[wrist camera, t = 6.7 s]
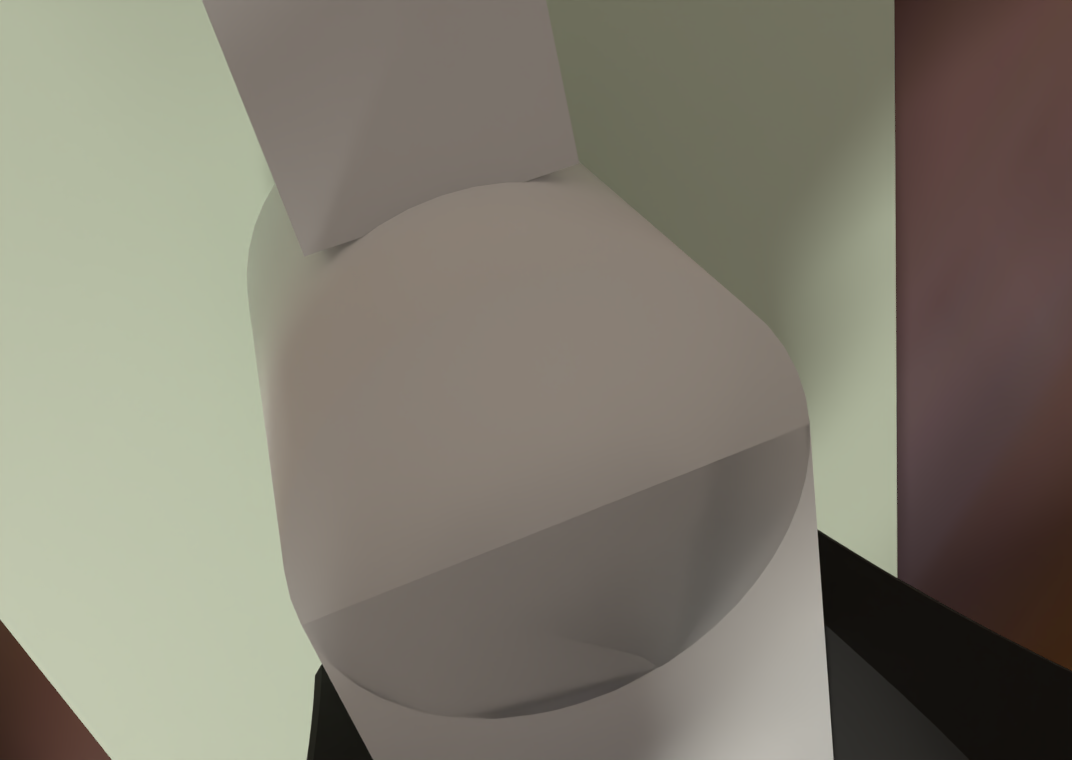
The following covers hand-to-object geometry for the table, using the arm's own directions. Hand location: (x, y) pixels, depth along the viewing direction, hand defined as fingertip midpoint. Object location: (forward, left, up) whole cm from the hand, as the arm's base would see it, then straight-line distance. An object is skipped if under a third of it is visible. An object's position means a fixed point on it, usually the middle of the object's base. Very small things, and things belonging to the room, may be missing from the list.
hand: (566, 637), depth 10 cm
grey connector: (+1, 0, -2) cm, 2 cm away
